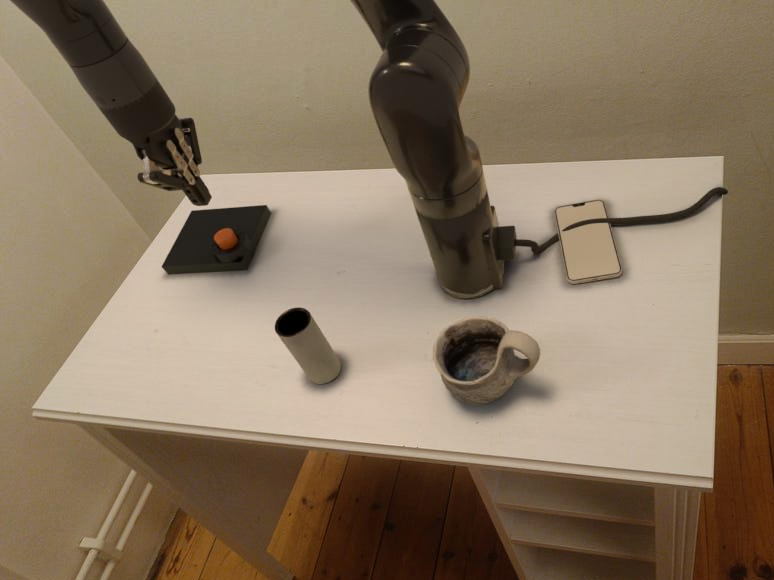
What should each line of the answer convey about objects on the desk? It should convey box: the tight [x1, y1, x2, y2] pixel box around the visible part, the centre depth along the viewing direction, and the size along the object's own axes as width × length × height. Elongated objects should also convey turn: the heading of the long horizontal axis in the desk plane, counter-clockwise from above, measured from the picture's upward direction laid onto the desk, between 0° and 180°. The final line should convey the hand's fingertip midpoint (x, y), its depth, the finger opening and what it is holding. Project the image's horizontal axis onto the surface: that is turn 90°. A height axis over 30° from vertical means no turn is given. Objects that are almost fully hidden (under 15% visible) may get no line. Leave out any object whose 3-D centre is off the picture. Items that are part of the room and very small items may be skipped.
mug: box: [432, 315, 541, 406], centre depth 71 cm, size 10×12×10 cm
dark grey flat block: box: [161, 204, 272, 275], centre depth 99 cm, size 14×13×4 cm
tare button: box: [214, 228, 238, 250], centre depth 94 cm, size 3×3×2 cm
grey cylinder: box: [274, 307, 342, 385], centre depth 77 cm, size 4×4×10 cm
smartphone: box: [553, 199, 623, 285], centre depth 85 cm, size 7×1×15 cm
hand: (204, 202), depth 86 cm, fingers closed
